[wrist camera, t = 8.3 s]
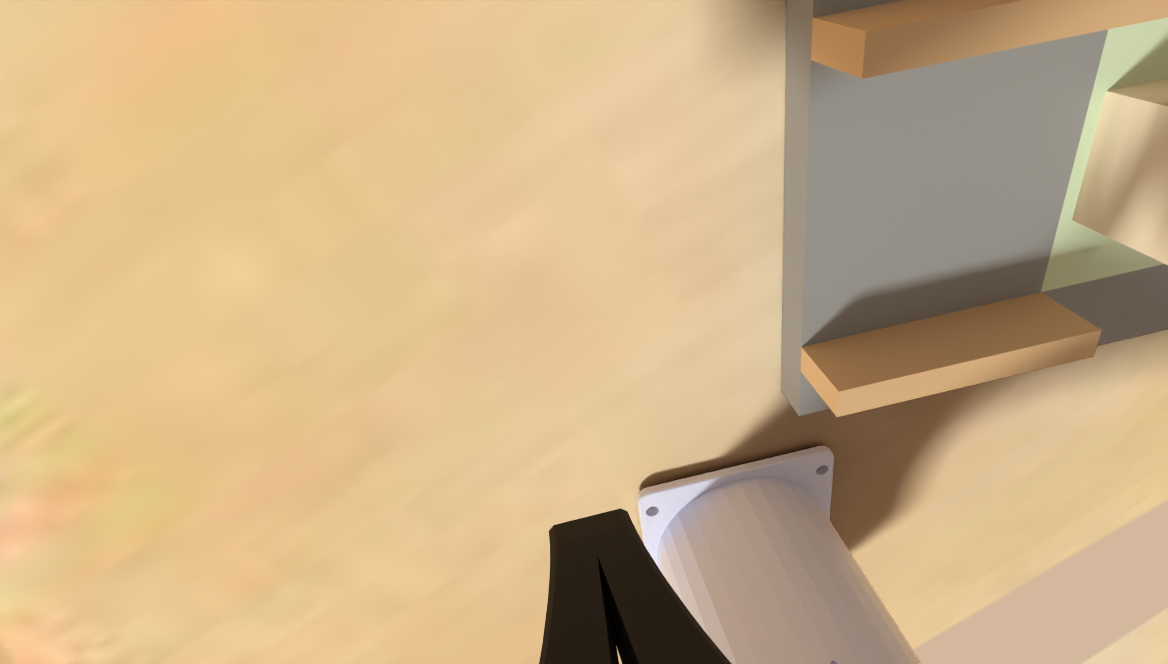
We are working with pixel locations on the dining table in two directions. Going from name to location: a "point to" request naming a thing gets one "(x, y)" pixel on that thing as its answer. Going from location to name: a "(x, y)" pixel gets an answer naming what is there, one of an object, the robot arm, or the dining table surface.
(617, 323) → the dining table surface
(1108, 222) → the birch block
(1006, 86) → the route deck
